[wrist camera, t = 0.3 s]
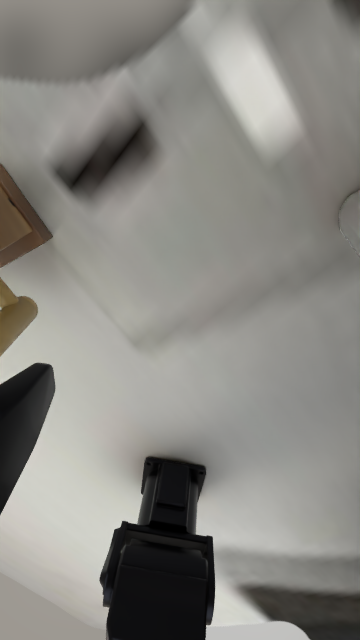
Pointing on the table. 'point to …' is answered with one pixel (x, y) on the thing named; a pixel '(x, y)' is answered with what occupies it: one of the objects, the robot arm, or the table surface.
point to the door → (14, 315)
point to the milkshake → (351, 220)
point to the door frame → (17, 222)
